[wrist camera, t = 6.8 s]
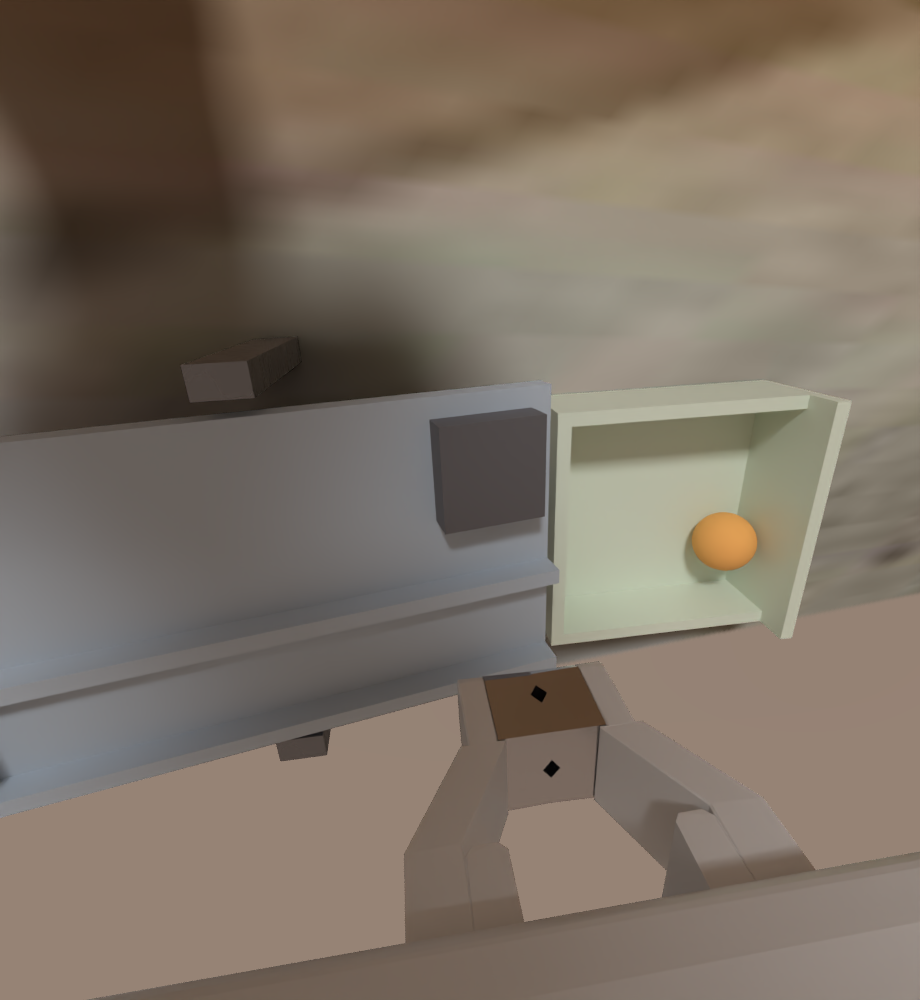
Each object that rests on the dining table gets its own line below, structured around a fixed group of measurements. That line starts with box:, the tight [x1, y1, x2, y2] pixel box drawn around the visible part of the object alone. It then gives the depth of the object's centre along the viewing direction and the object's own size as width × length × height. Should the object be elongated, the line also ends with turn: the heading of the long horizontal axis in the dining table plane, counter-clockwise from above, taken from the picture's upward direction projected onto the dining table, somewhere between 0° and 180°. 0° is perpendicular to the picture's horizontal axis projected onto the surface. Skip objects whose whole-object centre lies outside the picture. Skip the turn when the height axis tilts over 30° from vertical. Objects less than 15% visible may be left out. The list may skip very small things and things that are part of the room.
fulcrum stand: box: [180, 337, 330, 761], centre depth 28 cm, size 20×4×11 cm, turn 3°
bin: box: [545, 380, 852, 646], centre depth 33 cm, size 16×16×7 cm
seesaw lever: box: [0, 380, 559, 818], centre depth 23 cm, size 16×28×4 cm, turn 93°
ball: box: [692, 512, 757, 571], centre depth 35 cm, size 4×4×4 cm
